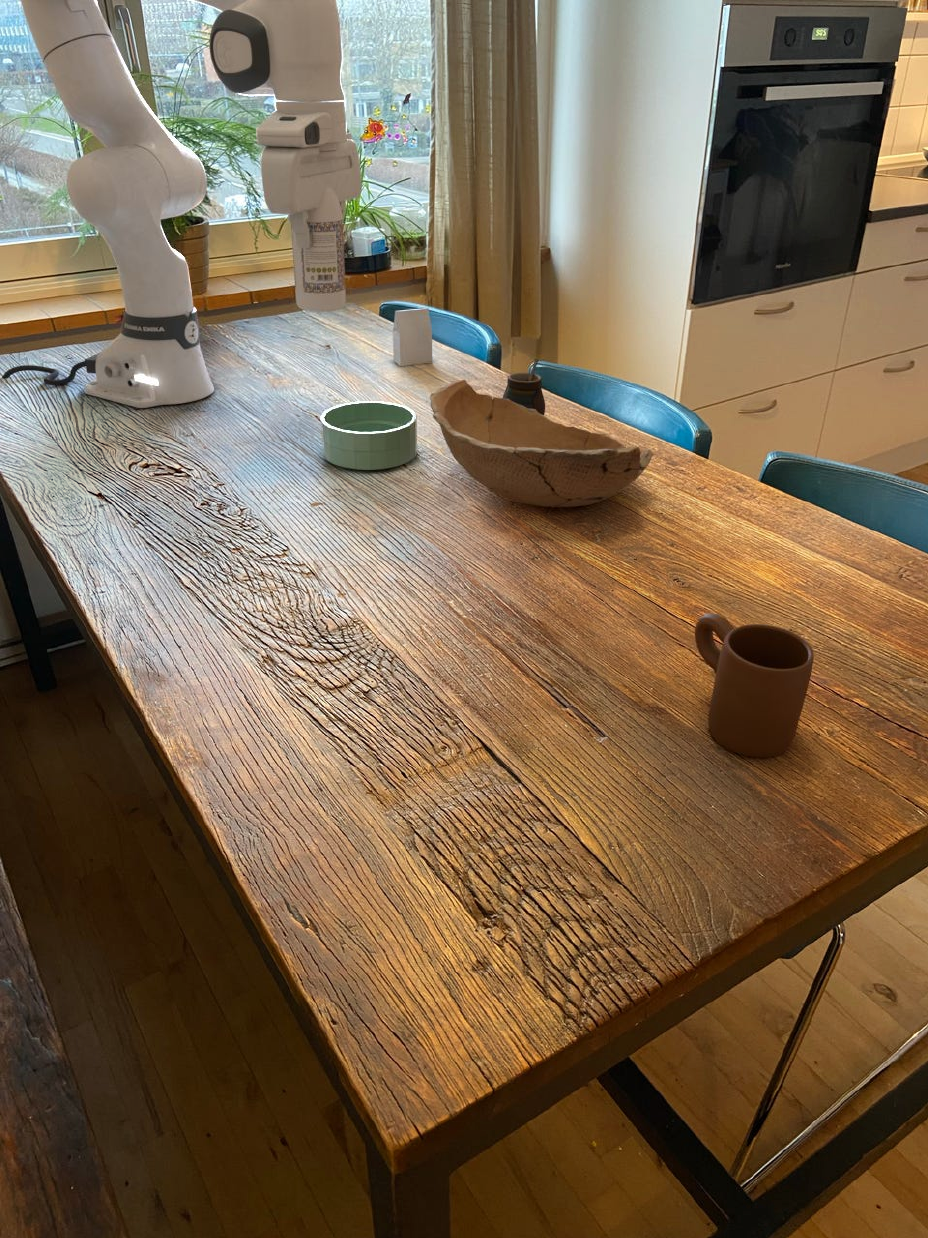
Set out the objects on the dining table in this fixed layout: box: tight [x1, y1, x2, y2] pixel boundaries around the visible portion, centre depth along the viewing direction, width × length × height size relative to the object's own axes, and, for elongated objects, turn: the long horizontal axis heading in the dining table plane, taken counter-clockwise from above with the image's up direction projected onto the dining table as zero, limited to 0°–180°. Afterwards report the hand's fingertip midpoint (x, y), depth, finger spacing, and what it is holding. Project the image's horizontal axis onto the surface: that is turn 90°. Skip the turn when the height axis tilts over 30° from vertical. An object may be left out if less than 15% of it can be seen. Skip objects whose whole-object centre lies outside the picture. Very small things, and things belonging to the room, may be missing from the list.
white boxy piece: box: [392, 307, 433, 367], centre depth 178 cm, size 4×7×10 cm, turn 115°
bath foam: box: [290, 187, 347, 313], centre depth 123 cm, size 7×7×20 cm
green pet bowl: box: [319, 400, 418, 471], centre depth 136 cm, size 14×14×6 cm
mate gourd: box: [502, 358, 546, 416], centre depth 148 cm, size 7×8×10 cm
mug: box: [694, 612, 815, 759], centre depth 81 cm, size 12×8×9 cm, turn 30°
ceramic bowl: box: [429, 379, 655, 508], centre depth 124 cm, size 30×27×15 cm
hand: (320, 242), depth 124 cm, fingers closed on bath foam, 7 cm apart
